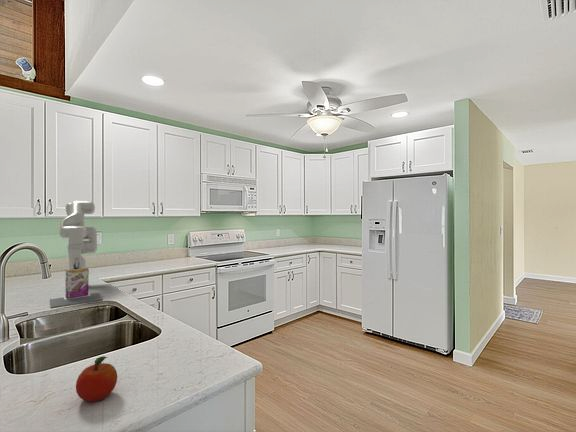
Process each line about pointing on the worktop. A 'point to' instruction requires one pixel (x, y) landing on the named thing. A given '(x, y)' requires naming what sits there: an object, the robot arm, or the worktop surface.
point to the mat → (74, 300)
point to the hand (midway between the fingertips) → (76, 276)
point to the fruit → (96, 381)
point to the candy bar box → (76, 282)
